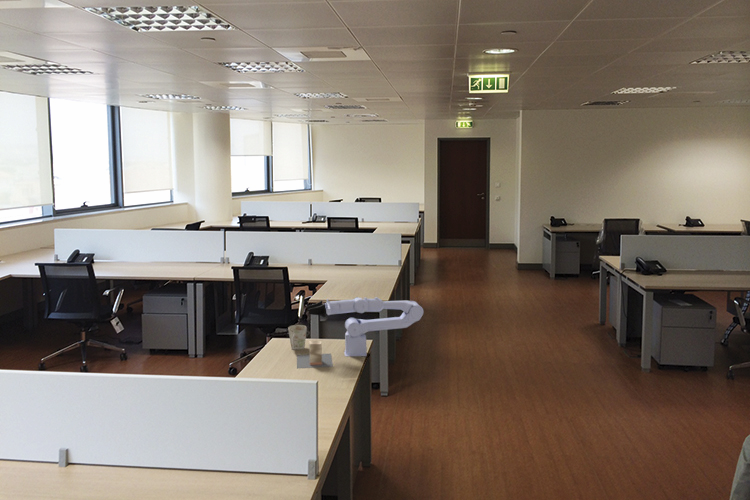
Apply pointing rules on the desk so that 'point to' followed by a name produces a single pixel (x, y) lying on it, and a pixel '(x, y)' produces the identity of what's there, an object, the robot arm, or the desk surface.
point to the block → (315, 352)
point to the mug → (297, 336)
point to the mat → (304, 362)
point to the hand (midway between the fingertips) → (307, 310)
